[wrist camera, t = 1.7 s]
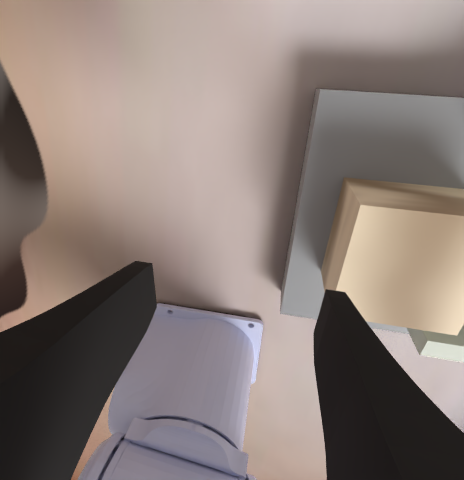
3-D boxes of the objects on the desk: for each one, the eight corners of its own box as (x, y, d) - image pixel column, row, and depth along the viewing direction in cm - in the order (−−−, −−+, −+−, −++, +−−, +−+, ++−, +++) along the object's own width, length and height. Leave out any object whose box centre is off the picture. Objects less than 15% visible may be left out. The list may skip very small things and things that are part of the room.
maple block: (320, 270, 18) (328, 315, 14) (343, 177, 15) (360, 205, 12) (422, 285, 17) (456, 335, 14) (467, 189, 14) (525, 222, 11)
